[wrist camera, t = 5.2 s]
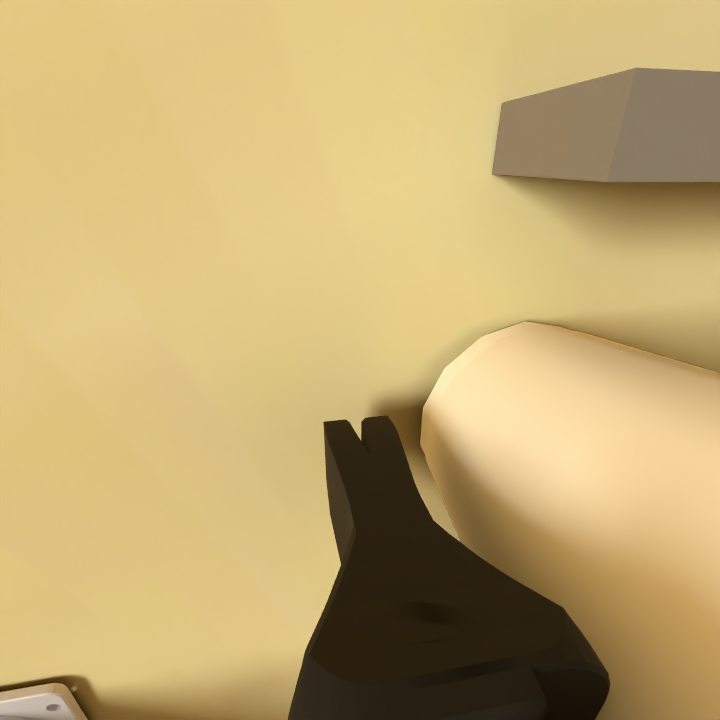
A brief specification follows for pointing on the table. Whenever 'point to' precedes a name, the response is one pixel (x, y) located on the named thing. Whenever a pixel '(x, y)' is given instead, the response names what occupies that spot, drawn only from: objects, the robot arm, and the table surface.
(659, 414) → the foam cup
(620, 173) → the bay
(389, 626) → the robot arm
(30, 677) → the table surface
